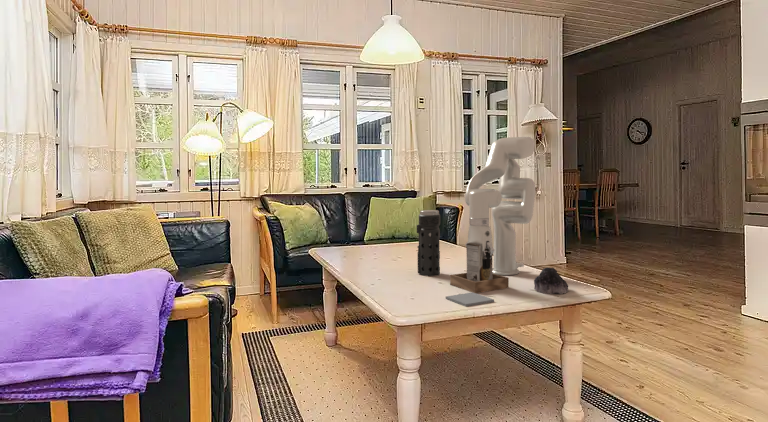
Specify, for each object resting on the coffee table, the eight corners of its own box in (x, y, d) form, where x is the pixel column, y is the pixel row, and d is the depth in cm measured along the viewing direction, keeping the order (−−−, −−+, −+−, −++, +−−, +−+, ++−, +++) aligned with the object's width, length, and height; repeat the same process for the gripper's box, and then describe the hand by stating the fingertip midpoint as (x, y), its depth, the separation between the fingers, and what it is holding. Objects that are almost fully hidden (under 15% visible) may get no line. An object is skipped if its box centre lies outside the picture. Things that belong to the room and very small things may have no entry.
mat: (472, 294, 186) (472, 292, 186) (494, 301, 175) (494, 299, 175) (445, 298, 180) (445, 296, 180) (465, 306, 169) (465, 304, 169)
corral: (482, 280, 209) (482, 270, 209) (508, 288, 195) (508, 277, 194) (450, 284, 202) (450, 274, 201) (475, 293, 187) (475, 282, 187)
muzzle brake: (417, 276, 218) (441, 276, 218) (417, 211, 216) (441, 211, 216) (416, 271, 228) (439, 271, 228) (415, 209, 225) (439, 209, 225)
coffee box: (479, 279, 204) (479, 239, 203) (493, 281, 200) (492, 241, 198) (466, 283, 198) (465, 243, 196) (479, 286, 193) (479, 244, 192)
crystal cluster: (554, 287, 199) (551, 262, 198) (578, 291, 186) (575, 264, 186) (525, 293, 194) (523, 267, 194) (549, 298, 181) (546, 270, 181)
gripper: (501, 223, 190) (501, 269, 192) (473, 219, 206) (473, 262, 207) (486, 225, 187) (486, 272, 189) (458, 220, 202) (458, 264, 204)
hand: (479, 266), depth 198 cm, fingers closed on coffee box, 7 cm apart
